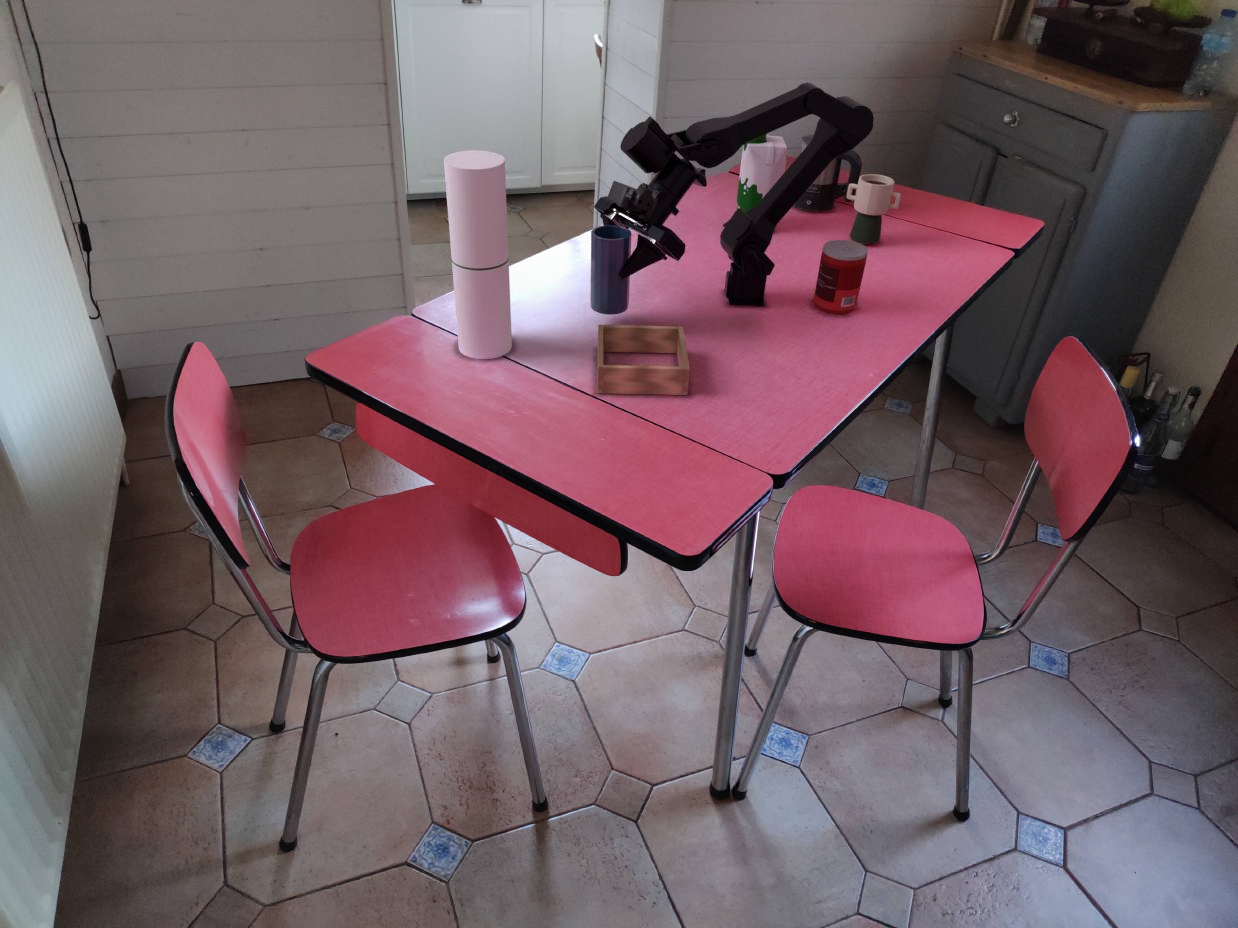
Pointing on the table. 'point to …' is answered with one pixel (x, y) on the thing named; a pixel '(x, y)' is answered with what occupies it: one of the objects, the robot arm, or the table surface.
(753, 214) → the robot arm
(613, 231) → the tumbler
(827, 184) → the milk frother
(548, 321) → the table surface
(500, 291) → the container
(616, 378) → the crate
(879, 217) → the character mug
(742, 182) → the milk carton
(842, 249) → the canned food
